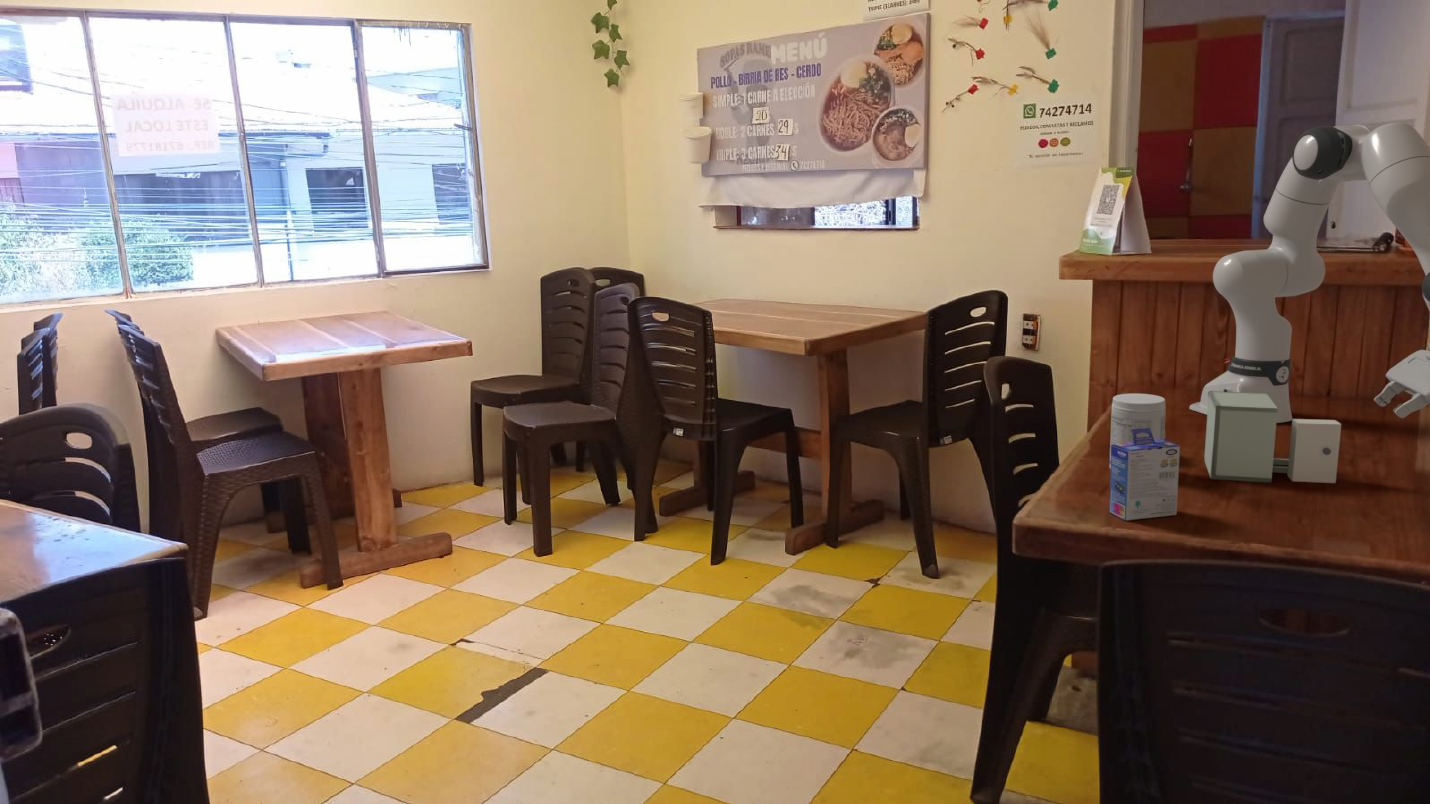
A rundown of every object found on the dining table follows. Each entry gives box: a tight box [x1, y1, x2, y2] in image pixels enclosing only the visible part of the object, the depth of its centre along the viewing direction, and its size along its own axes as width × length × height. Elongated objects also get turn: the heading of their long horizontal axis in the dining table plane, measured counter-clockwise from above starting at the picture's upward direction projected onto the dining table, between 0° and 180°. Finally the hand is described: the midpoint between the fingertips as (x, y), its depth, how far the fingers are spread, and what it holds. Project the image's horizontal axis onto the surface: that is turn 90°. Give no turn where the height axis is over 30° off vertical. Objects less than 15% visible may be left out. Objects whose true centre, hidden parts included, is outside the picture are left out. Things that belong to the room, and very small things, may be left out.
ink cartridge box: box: [1109, 428, 1181, 521], centre depth 165 cm, size 10×6×14 cm, turn 102°
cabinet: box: [1203, 391, 1289, 484], centre depth 186 cm, size 18×15×14 cm
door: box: [1287, 418, 1342, 484], centre depth 181 cm, size 7×4×11 cm, turn 74°
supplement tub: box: [1109, 392, 1167, 470], centre depth 189 cm, size 10×10×15 cm
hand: (1387, 409), depth 176 cm, fingers open, 8 cm apart
